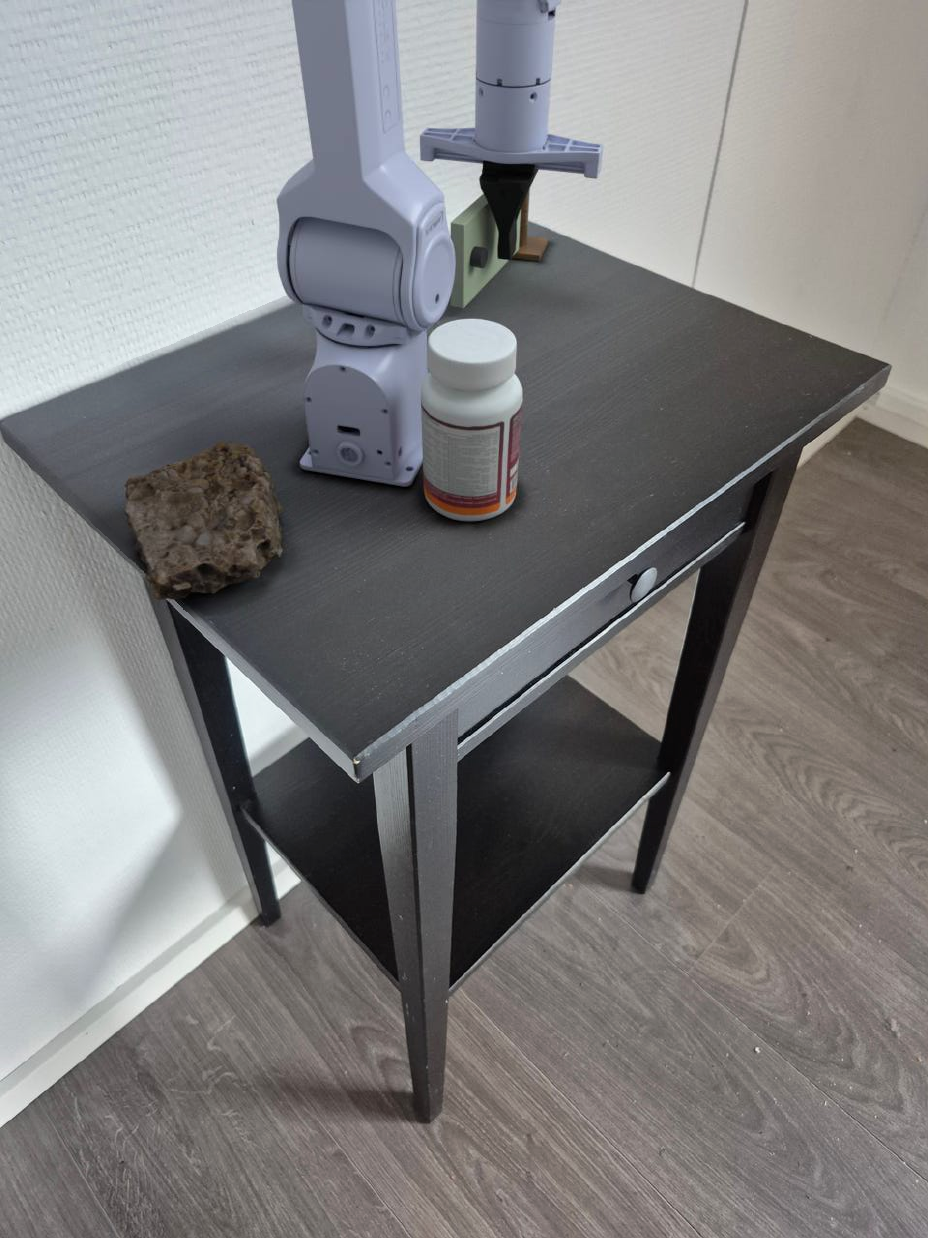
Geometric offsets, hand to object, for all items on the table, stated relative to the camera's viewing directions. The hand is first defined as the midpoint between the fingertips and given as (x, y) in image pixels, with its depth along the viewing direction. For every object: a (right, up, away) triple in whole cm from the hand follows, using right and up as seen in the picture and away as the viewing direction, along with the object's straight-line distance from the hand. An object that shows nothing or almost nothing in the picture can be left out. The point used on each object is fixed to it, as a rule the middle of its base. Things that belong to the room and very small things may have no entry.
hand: (506, 254), depth 77 cm
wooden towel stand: (+2, +4, +9) cm, 10 cm away
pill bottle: (-3, -23, -18) cm, 30 cm away
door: (-1, -1, +3) cm, 3 cm away
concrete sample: (-19, -24, -25) cm, 39 cm away
